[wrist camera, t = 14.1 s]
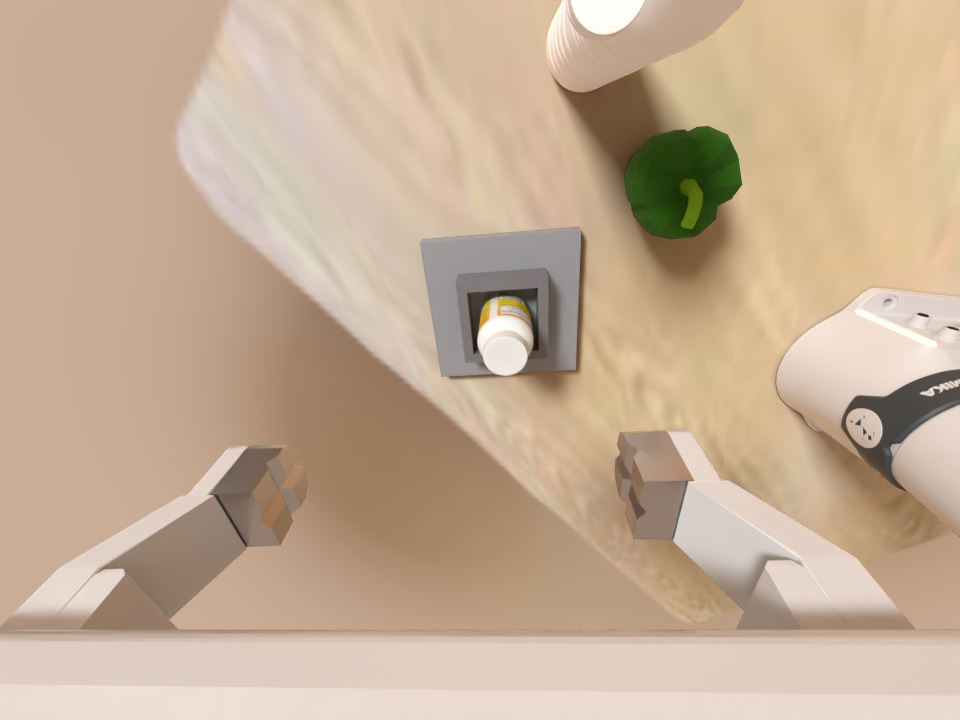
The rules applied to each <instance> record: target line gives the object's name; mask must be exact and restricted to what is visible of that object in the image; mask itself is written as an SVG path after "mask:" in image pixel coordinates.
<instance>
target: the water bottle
mask: <svg viewBox="0 0 960 720" xmlns="http://www.w3.org/2000/svg"><path fill="white" fill-rule="evenodd" d="M743 1H744V0H563V1H562V3H561V5H560V7H559V9H558V11H557V13H556V15H555V17H554V19H553V21H552V23H551V26H550V29H549V32H548V37H547V44H546V54H547V61H548V65H549V68H550V71H551V73H552V75H553V76H554V78H555V79H556V80H557V81H558V83H559V84H560V85H561V86H563V87H564V88H566V89H568V90H570V91H573V92H589V91H592V90H595V89H598V88H600V87H602V86H604V85H606V84H608V83H611V82H613V81H615V80H617V79H619V78H622V77H624V76H626V75H629V74H631V73H634V72H636V71H638V70H639V69H641V68H643V67H645V66H648V65H650V64H652V63H654V62H657V61H659V60H661V59H663V58H666V57H668V56H670V55H673V54H676V53H679V52H681V51H684V50H686V49H688V48H690V47H692V46H694V45H696V44H698V43H699V42H701V41H703V40H704V39H706V38H707V37H708V36H710V35H711V34H712V33H714V32H715V31H716V30H717V29H718V28H720V27H721V26H722V25H723V24H724V23H725V22H726V21H727V20H728V19H729V18H730V17H731V16H732V15H733V14H734V12H735V11H736V10H737V9H738V8H739V7H740V6H741V4H742V3H743Z"/></svg>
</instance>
